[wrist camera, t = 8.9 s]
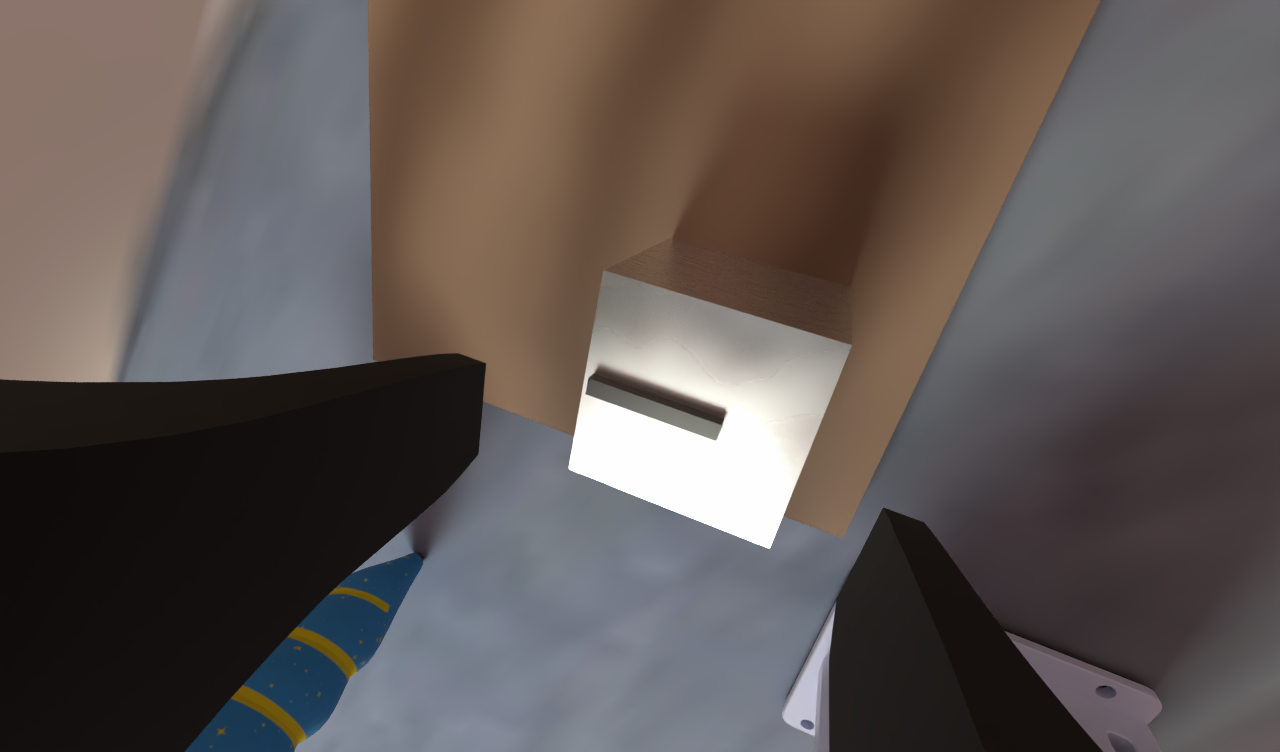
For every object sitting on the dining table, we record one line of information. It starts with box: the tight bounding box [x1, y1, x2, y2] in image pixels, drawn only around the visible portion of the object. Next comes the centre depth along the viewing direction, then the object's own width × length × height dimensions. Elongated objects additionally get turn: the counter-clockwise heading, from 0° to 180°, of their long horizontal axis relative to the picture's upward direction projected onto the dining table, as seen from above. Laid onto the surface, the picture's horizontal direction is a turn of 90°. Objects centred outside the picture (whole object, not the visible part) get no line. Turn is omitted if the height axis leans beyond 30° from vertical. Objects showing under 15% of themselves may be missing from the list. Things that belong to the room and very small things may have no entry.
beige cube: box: [568, 237, 852, 549], centre depth 14 cm, size 5×5×5 cm
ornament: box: [185, 553, 423, 752], centre depth 20 cm, size 5×5×15 cm
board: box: [368, 0, 1101, 538], centre depth 14 cm, size 18×16×6 cm
